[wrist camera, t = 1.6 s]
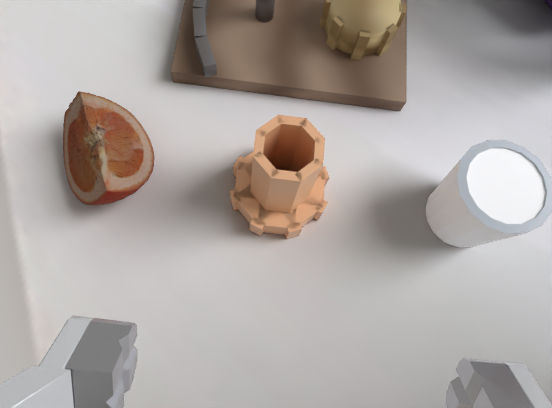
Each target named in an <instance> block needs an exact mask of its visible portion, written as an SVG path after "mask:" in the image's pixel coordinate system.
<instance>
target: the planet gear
mask: <svg viewBox="0 0 552 408" xmlns="http://www.w3.org/2000/svg"><path fill="white" fill-rule="evenodd" d="M324 144H325V138H324V137H323V136H322V135H321V134H320V133H319V132H318V131H317V129H316V128H315V127H314V126H313V125H312V124H311V123H310V122H309V121H308V120H307V118H300V117H292V116H284V115H277V116H276V117H274V118H273V119H271V120H270V121H269V122H267V123H266V124H264V125H263V126H261V127H260V128H258V129H257V130H256V136H255V144H254V151H253V152H252V153H250V154H249V155H248V156H246V157H245V158H243V157H241V156H239V158H238V159H237V161H236V162H235V164H234V166H233V175H234V176H235V177H236V183H235V189H234V190H230V200H231V203H232V207H233V210H239V211H240V212H241V214H242V215H243V216H244V217H245V218H246V220H247V221H248V222H249V223H250V231H252V232H254V233H256V234H257V235H259V236H261V235H262V233H263V232H266V233H275V234H283V235H285V236H286V239H289V238H292V237H296V236H299V234H300V232H301V230H302V227H303V226H304V225H306V224H307V223H308V222H309V221H311V220H312V219H313V218H314V219H316V220H318V219H319V217H320V216H321V214H322V212H323V210H324V209H325V207H326V205H327V203H328V202H326V201H324V200H323V198H324V187H325V185H326V183H327V181H328V179H329V175H328V173H327V170H326V167H325V166H324V167H322V166H323V158H324Z"/></svg>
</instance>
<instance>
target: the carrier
mask: <svg viewBox="0 0 552 408" xmlns="http://www.w3.org/2000/svg"><path fill="white" fill-rule="evenodd" d="M406 26H407V0H185V4H184V8H183V13H182V18H181V23H180V28H179V33H178V38H177V43H176V48H175V53H174V58H173V62H172V67H171V75H172V79H173V82H179V83H186V84H194V85H202V86H210V87H217V88H225V89H233V90H241V91H248V92H256V93H264V94H272V95H279V96H287V97H295V98H303V99H311V100H318V101H326V102H334V103H342V104H349V105H357V106H365V107H373V108H380V109H388V110H396V111H401V109H402V108H403V106H404V105H405V103H406Z"/></svg>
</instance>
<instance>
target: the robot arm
mask: <svg viewBox="0 0 552 408" xmlns="http://www.w3.org/2000/svg"><path fill="white" fill-rule="evenodd" d="M136 337H137V325H136V324H135V323H130V322H122V321H115V320H107V319H99V318H88V317H81V316H72V317H71V318H69V319H68V320H67V322H66V324H65V325H64V327H63V328H62V330H61V332H60V333H59V335H58V336H57V338H56V340H55V341H54V343H53V344H52V346H51V347H50V349H49V351H48V352H47V354H46V355H45V357H44V359H43V360H42V362H41V363H40V365H39V366H31V367H29V368H28V369H26V370H24V371H22V372H21V373H19V374H18V375H16V376H14V377H12V378H11V379H9V380H7V381H6V382H4V383H2V384H0V408H123V406H124V393H125V392H127V391H128V390H129V389H130V387H131V384H132V381H133V378H134V373H135V369H136V363H137V349H136V348H135V346H134V342H135V340H136ZM456 371H457V373H458V375H459V377H457V378H456V379H454V380H453V381H451V382H450V384H449V387H448V390H447V395H446V405H447V408H552V404H551V403H550V401H549V400H548V398H547V397H546V395H545V394H544V392H543V391H542V389H541V388H540V386H539V385H538V383H537V382H536V380H535V379H534V377H533V375H532V374H531V372H530V371H529V369H528V368H527V367H526V366H525V365H523V364H521V363H510V362H497V361H487V360H477V359H466V358H463V359H462V360H461V361H460V362H459V363H458V366H457V368H456Z"/></svg>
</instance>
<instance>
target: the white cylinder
mask: <svg viewBox="0 0 552 408" xmlns="http://www.w3.org/2000/svg"><path fill="white" fill-rule="evenodd" d="M425 210H426V217H427V222H428V224H429V226H430V227H431V229H432V231H433V233H434V234H435V235H436V236H438V237H439V238H440V239H441V240H442V241H443V242H445V243H447V244H450V245H452V246H455V247H474V246H478V245H482V244H485V243H489V242H493V241H497V240H501V239H505V238H509V237H513V236H517V235H521V234H525V233H527V232H529V231H531V230H533V229H535V228H538V227H540V226H542V224H543V223H544V222H545V220H546V219H547V218H548V216H549V215H550V214H551V212H552V180H551V176H550V174H549V173H548V171H547V170H546V168H545V167H544V165H543V164H542V162H541V161H540V159H538V158H537V157H536V156H535V155H533V154H532V153H531V152H530V151H528V150H527V149H526V148H524V147H522V146H520V145H517V144H514V143H512V142H509V141H506V140H487V141H484V142H482V143H480V144H477V145H475V146H472V147H471V148H470V149H469V151H468V152H467V153H466V154H465V155H464V156H463V157H462V159H461V160H460V161H459V162H458V163H457V164H456V166H455V167H454V168H453V169H452V170H451V171H450V172H449V174H448V175H447V176H446V177H445V178H444V179H443V181H442V182H441V183H440V184H439V185H438V186H437V187H436V189H435V190H434V191H433V192H432V193H431V194H430V196H429V197H428V200H427V204H426V208H425Z"/></svg>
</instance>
